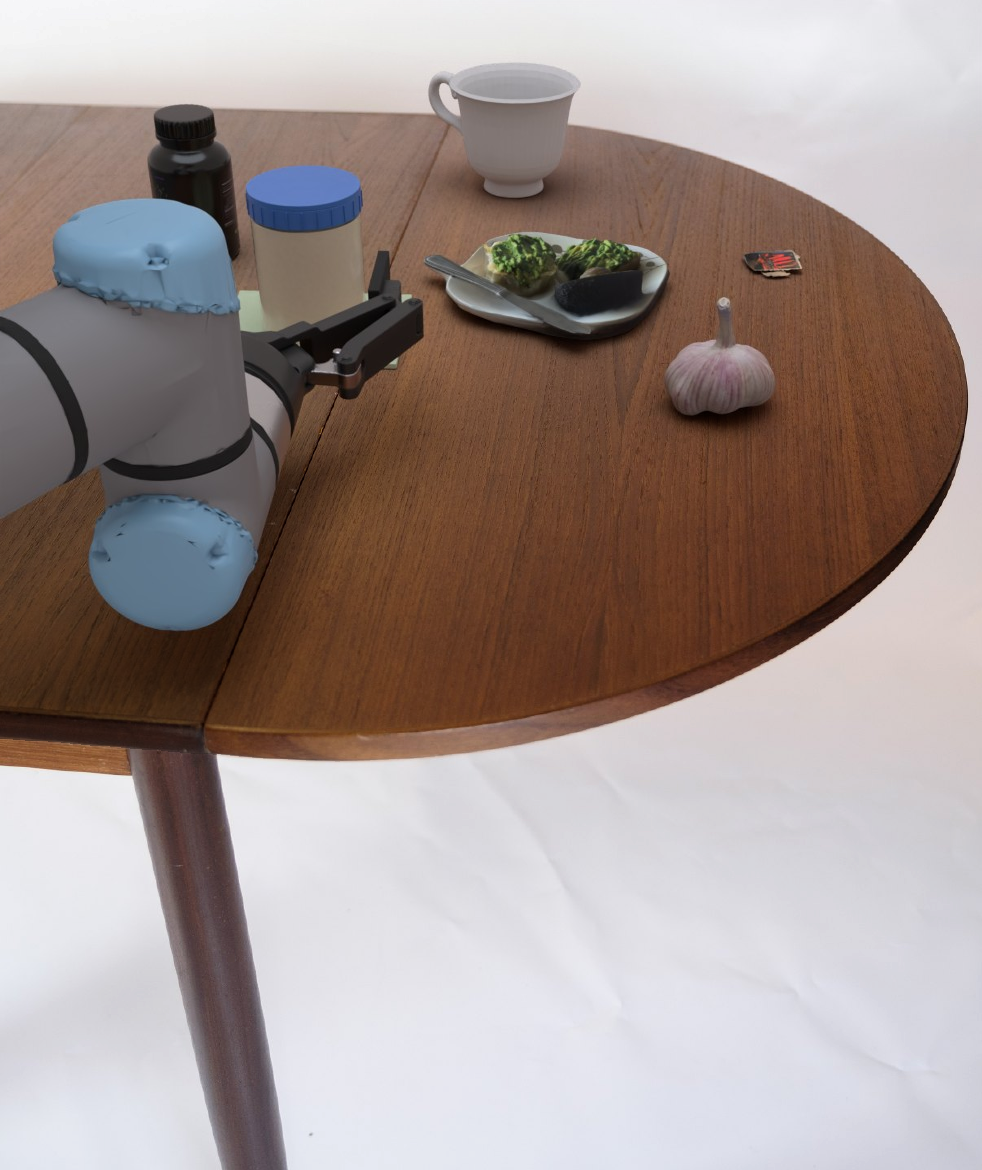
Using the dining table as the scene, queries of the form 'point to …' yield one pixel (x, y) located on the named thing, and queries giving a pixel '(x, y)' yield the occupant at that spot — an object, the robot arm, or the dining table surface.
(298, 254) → the jar
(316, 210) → the lid
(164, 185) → the supplement bottle
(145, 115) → the dining table surface
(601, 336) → the salad plate
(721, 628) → the dining table surface
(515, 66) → the teacup
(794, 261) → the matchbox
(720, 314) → the garlic bulb
